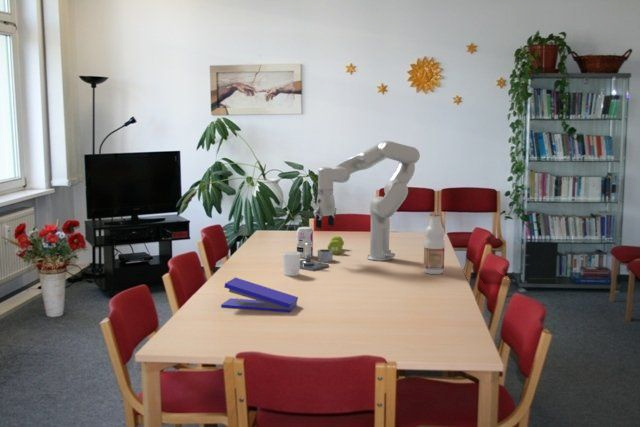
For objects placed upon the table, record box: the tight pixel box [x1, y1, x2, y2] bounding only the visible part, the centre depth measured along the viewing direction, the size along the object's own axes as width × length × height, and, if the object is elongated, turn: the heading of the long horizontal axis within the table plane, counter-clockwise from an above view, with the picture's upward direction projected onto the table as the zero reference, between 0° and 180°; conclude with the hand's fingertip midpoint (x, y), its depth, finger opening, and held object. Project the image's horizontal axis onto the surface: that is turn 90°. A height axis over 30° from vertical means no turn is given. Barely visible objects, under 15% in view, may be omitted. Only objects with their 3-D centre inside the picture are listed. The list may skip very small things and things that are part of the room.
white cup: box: [282, 251, 301, 277], centre depth 337 cm, size 8×8×10 cm
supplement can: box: [296, 226, 314, 259], centre depth 377 cm, size 8×8×15 cm
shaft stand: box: [299, 243, 330, 272], centre depth 354 cm, size 16×12×11 cm
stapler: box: [220, 277, 299, 313], centre depth 284 cm, size 12×28×10 cm, turn 76°
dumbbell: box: [326, 235, 345, 255], centre depth 392 cm, size 16×8×7 cm, turn 174°
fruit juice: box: [423, 212, 446, 275], centre depth 343 cm, size 9×9×28 cm
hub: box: [317, 248, 334, 263], centre depth 369 cm, size 7×7×5 cm
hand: (324, 226), depth 366 cm, fingers open, 9 cm apart
